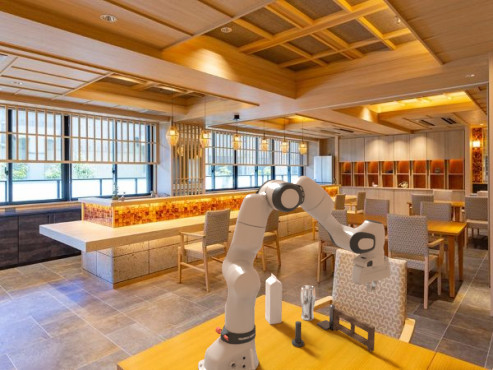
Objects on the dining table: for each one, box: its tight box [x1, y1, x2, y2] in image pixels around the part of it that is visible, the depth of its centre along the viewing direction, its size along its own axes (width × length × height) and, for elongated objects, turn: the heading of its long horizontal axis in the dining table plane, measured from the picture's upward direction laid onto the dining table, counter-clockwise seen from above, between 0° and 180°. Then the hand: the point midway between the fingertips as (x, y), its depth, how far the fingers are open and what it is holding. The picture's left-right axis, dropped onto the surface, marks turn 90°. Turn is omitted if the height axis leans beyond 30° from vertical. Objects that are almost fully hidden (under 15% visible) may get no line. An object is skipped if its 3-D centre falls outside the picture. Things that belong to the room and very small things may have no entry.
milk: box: [264, 272, 283, 325], centre depth 155 cm, size 6×6×22 cm
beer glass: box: [300, 284, 316, 322], centre depth 159 cm, size 7×7×15 cm
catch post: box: [291, 320, 305, 348], centre depth 136 cm, size 5×5×9 cm
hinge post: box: [316, 304, 336, 332], centre depth 150 cm, size 6×8×11 cm
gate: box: [333, 307, 376, 352], centre depth 138 cm, size 20×3×10 cm, turn 31°
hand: (371, 290), depth 139 cm, fingers closed
